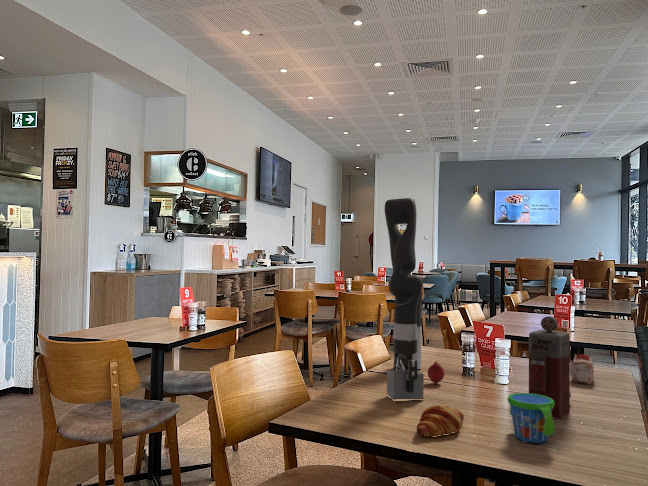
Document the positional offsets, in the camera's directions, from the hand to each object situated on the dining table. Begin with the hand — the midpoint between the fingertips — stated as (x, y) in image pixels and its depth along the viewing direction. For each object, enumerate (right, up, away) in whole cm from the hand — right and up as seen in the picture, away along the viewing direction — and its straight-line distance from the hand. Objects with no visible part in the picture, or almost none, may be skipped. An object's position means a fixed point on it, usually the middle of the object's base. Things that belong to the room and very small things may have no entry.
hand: (404, 388), depth 159 cm
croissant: (+5, -3, -29) cm, 29 cm away
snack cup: (+26, -3, -34) cm, 43 cm away
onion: (+14, -4, +19) cm, 24 cm away
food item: (+70, -5, +27) cm, 76 cm away
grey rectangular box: (0, -3, 0) cm, 3 cm away
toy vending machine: (+40, -3, -13) cm, 42 cm away
